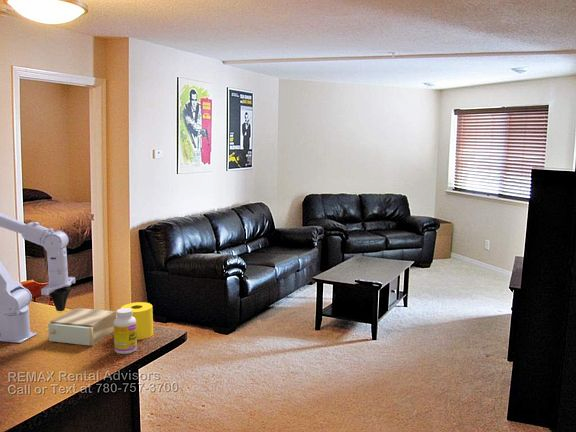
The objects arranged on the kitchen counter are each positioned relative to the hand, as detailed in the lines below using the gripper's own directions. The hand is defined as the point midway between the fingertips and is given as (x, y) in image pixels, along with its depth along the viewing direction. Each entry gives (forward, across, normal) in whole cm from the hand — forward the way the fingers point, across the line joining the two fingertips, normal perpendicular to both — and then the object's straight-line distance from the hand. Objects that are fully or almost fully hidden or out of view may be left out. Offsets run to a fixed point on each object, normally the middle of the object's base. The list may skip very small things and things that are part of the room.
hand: (60, 310), depth 174 cm
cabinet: (+9, +4, -6) cm, 12 cm away
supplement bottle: (+10, -4, -25) cm, 27 cm away
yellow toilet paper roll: (+10, +9, -22) cm, 26 cm away
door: (+9, -4, -6) cm, 11 cm away
